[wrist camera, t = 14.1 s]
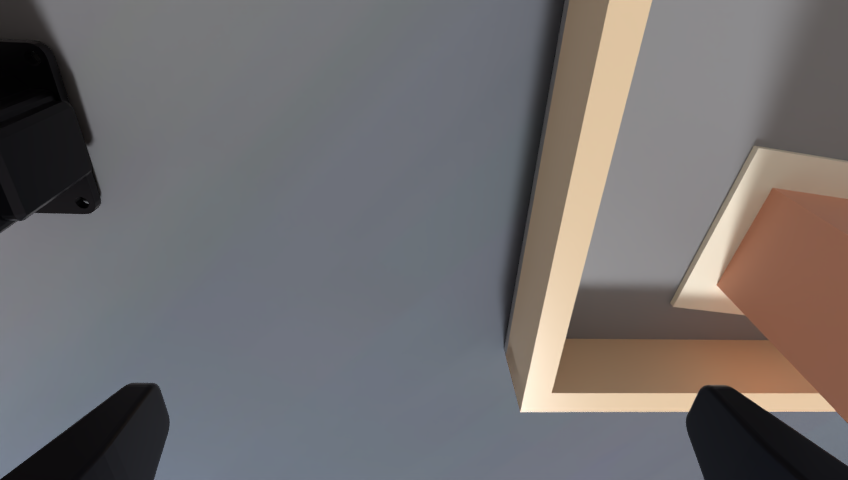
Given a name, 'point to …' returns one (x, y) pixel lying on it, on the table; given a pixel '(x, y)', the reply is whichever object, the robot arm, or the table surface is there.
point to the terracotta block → (798, 285)
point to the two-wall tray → (670, 197)
